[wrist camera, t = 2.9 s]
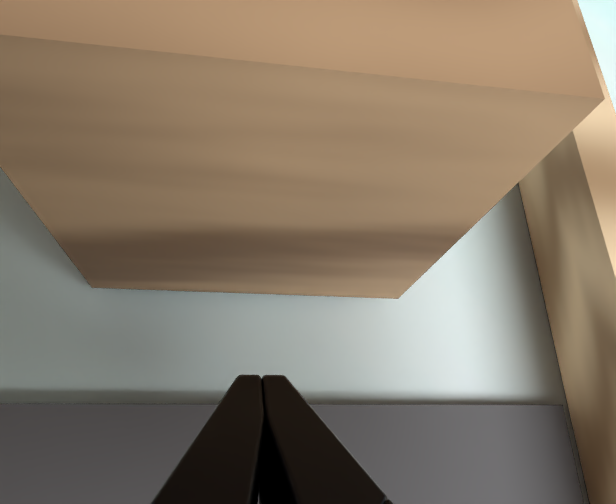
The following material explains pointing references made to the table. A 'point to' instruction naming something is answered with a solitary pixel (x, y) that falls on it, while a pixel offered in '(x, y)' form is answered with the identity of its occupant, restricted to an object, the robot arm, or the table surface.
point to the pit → (339, 418)
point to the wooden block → (280, 132)
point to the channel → (582, 277)
